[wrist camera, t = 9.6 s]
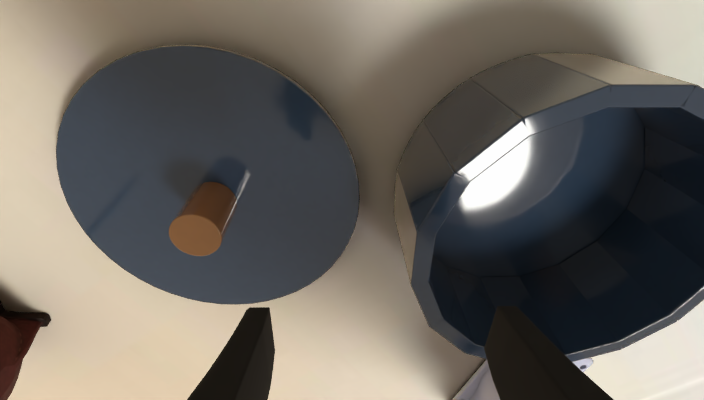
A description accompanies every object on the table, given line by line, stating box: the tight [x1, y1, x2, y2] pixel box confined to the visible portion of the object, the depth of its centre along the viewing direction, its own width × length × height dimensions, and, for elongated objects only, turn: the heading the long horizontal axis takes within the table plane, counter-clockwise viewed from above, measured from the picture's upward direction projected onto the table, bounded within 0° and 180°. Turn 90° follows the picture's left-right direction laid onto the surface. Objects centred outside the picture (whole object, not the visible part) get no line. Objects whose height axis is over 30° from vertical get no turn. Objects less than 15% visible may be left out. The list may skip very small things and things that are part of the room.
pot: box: [394, 52, 704, 362], centre depth 19 cm, size 15×15×6 cm
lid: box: [56, 44, 360, 304], centre depth 19 cm, size 16×16×4 cm
